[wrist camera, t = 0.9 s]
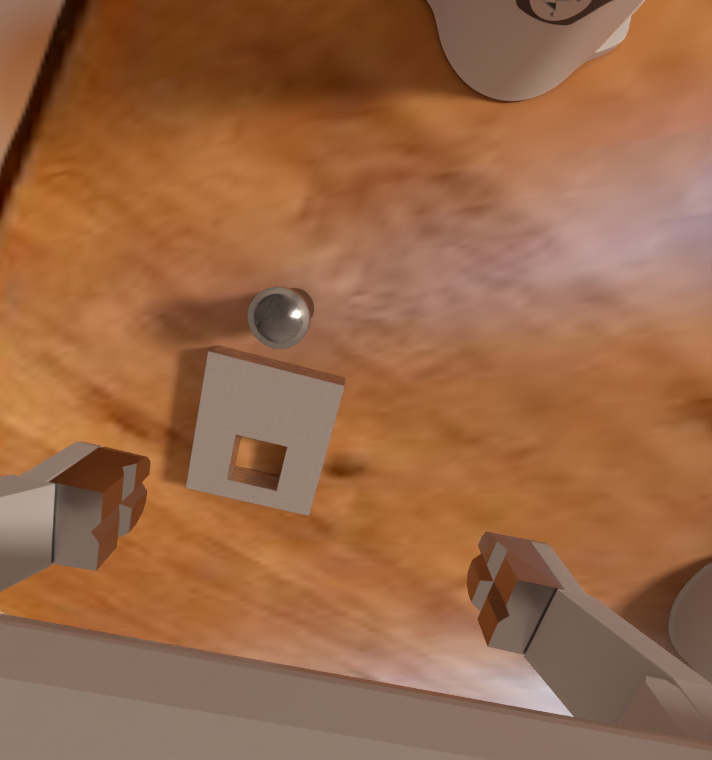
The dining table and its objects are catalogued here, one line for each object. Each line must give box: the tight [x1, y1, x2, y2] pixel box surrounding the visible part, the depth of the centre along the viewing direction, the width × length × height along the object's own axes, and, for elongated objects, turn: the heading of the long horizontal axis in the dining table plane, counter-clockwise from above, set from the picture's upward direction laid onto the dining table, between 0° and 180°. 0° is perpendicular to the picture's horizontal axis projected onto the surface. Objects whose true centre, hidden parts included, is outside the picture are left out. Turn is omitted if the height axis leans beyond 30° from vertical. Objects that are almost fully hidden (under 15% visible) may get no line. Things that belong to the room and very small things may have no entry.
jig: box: [186, 345, 345, 516], centre depth 42 cm, size 16×14×3 cm
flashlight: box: [248, 286, 314, 349], centre depth 35 cm, size 5×5×9 cm
